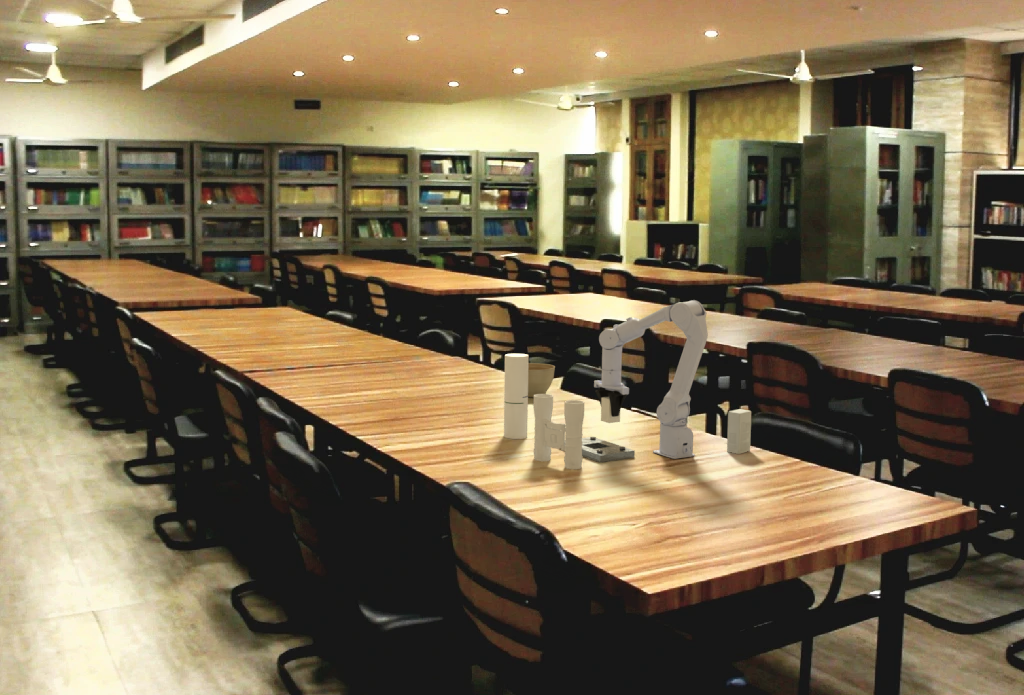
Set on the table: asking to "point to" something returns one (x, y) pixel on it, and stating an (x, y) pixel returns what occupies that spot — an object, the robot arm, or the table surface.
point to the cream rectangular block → (607, 411)
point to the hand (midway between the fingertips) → (610, 414)
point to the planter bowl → (539, 378)
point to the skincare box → (739, 431)
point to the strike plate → (604, 450)
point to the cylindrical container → (516, 396)
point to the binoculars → (558, 431)
